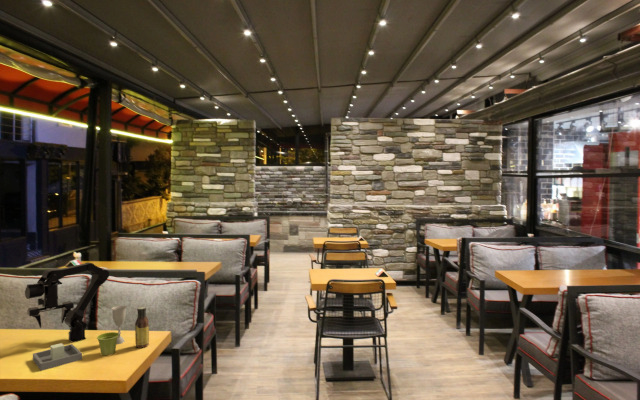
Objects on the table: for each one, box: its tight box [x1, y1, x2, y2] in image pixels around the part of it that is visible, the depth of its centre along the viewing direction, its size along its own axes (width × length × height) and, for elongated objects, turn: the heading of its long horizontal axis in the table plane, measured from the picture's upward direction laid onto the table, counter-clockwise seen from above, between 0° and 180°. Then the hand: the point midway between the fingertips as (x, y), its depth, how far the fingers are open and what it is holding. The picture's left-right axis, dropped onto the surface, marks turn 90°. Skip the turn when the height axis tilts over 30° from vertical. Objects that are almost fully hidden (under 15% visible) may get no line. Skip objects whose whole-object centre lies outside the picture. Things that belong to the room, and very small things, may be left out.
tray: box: [32, 343, 83, 371], centre depth 184 cm, size 16×16×3 cm
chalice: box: [111, 305, 127, 345], centre depth 205 cm, size 7×7×18 cm
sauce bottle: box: [134, 306, 150, 349], centre depth 200 cm, size 7×6×20 cm
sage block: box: [49, 342, 65, 360], centre depth 184 cm, size 4×4×6 cm
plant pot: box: [96, 331, 119, 356], centre depth 191 cm, size 9×9×9 cm
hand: (51, 325), depth 199 cm, fingers open, 9 cm apart
